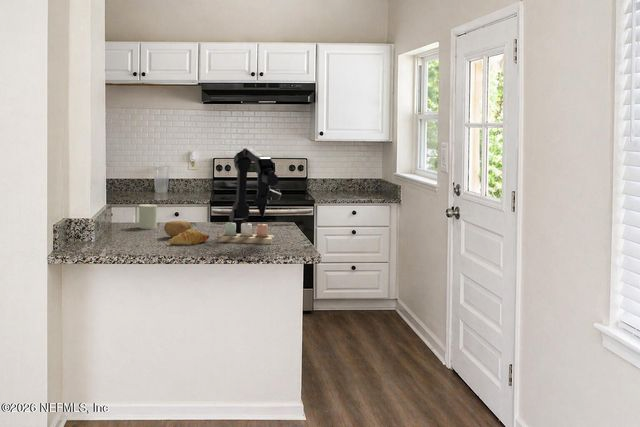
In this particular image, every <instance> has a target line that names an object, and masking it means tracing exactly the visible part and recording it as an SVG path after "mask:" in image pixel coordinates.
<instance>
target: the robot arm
mask: <svg viewBox="0 0 640 427" xmlns="http://www.w3.org/2000/svg"><path fill="white" fill-rule="evenodd" d="M252 163H254V166H255V168H256V170H257V171H256V174H257V178H256V179H257V181H256V182H257V183H256V184H257V185H256V197H255V198H254V199H253V204H256V207H257V209H258V211H259V215H260V217H261V218H264V217H265V213H266V209H267V206H268V205H269V204H270V201H272V199H274V200H275V201H279V200H281V196H282V192H281V190H280V189H278V188H276V189H275V190H274V189H272V188H271V187H276V186H277V184H278V183H279V177H278V175H277V173H276V166H275V165H274V161H273V159H272V157H269V156H264V155H262V154H260V152H258V151H257V150H255V148H253V147H244V148H243V149H242V150H241V151H239V152H237V153H236V154H235V155H234V157H233V164H234V168H235V169H236V171H237V175H236V176H237V178H236V194H235V195H236V196H235V197H236V198H235V202H234V203H233V204H232V209H231V211H230V213H229V216H228V219H229V221H230V222H231V223H236V234H241V224H243V223H247V222H248V221H249V218H250V214H251V213H250V204H248V203H247V187H248V186H247V185H248V184H247V183H248V181H247V180H248V172H249V170H250V169H251V166H252ZM275 173H276V174H275Z"/></svg>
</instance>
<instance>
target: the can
mask: <svg viewBox="0 0 640 427" xmlns="http://www.w3.org/2000/svg"><path fill="white" fill-rule="evenodd" d="M157 219H158V205H157V204H152V203H150V204H139V205H138V228H139V229H142V230H144V229H145V230H154V229H157V228H158V227H157V226H158V225H157V224H158V223H157Z"/></svg>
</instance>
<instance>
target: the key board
mask: <svg viewBox="0 0 640 427" xmlns="http://www.w3.org/2000/svg"><path fill="white" fill-rule="evenodd" d="M274 237H275V236H274V235H271V234H267V237H257V234H252V236H241V234H238V233H236V235H235V236H227V235H225V232H221V233H220V234H219V236H217V242H218V243H221V242H222V243H241V244H259V245H260V244H266V245H267V244H268V245H272V243H273V242H274Z"/></svg>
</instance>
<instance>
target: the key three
mask: <svg viewBox="0 0 640 427" xmlns="http://www.w3.org/2000/svg"><path fill="white" fill-rule="evenodd" d="M268 227H269V226H268V224H267V223H266V224H265V223H258V224H256V235H257V237H267V235H268Z"/></svg>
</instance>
